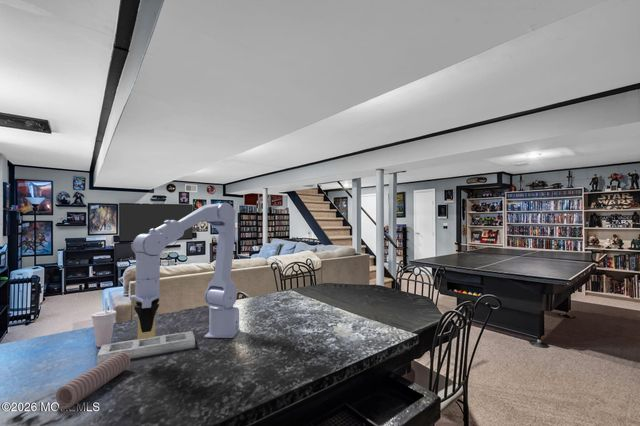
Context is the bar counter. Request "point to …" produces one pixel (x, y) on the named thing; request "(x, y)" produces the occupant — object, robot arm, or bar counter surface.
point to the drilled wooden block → (146, 334)
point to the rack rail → (148, 346)
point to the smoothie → (103, 325)
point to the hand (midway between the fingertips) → (146, 329)
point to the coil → (91, 380)
